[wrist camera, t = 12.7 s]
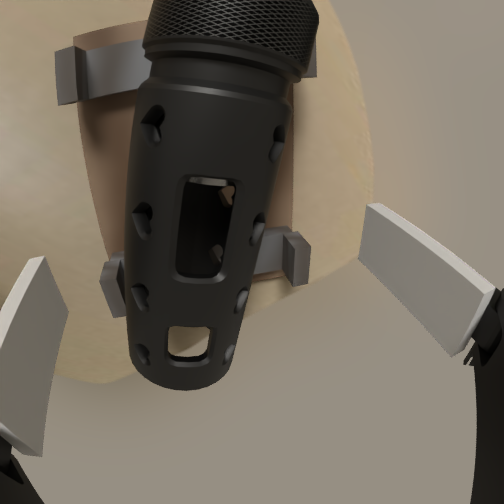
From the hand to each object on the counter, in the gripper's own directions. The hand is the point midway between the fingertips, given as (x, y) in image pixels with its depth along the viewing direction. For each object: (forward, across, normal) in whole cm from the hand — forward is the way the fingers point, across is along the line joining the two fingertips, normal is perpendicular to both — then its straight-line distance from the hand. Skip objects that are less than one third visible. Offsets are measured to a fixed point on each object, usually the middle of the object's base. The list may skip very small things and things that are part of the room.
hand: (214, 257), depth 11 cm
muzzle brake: (+14, 0, 0) cm, 14 cm away
